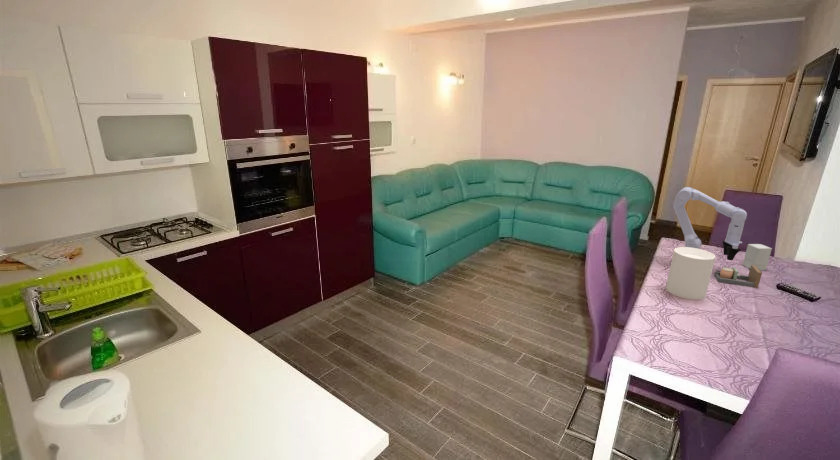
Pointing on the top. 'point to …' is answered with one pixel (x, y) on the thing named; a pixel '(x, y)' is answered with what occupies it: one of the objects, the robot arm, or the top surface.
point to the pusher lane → (743, 278)
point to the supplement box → (757, 256)
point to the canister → (690, 273)
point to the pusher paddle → (735, 273)
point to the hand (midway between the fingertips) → (727, 257)
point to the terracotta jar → (726, 273)
